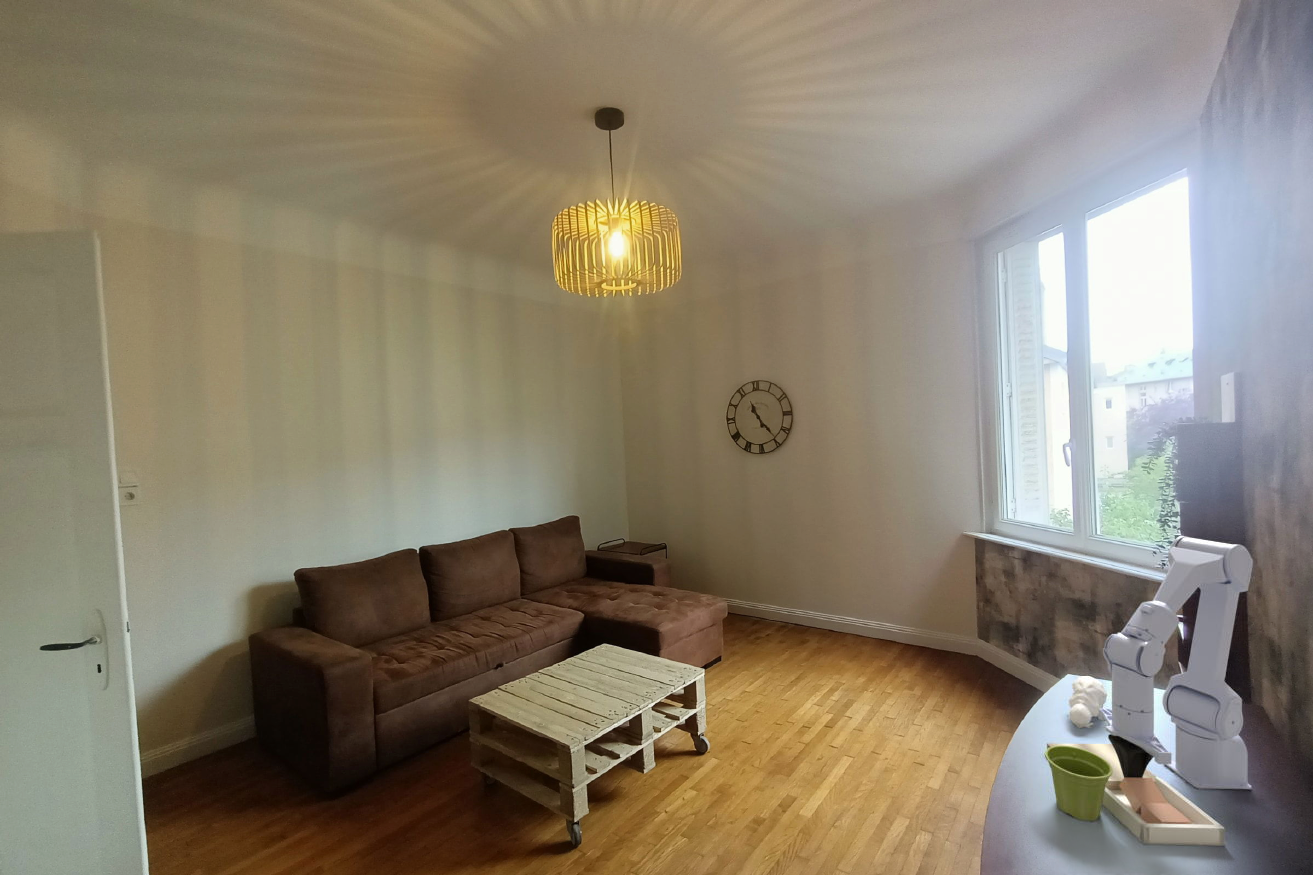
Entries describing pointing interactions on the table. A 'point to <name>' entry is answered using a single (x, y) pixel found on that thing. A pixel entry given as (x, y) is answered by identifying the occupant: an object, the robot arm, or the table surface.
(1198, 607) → the robot arm
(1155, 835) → the tray
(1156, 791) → the tile
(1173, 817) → the tile
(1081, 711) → the white figurine
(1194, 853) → the table surface
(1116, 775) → the thin cream square panel
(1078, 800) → the plant pot
